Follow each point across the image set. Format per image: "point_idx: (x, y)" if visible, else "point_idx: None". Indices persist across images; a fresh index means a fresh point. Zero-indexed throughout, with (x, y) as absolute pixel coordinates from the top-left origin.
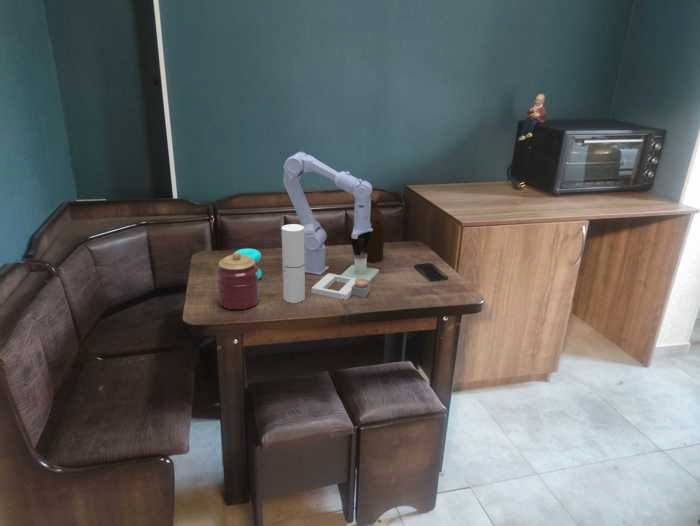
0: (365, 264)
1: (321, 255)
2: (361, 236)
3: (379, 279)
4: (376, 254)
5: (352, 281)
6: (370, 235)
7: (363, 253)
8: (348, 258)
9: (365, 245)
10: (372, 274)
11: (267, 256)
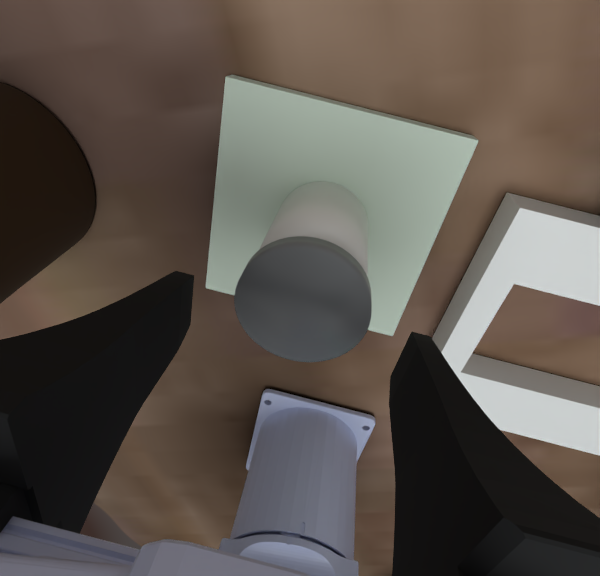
0: (338, 218)
1: (332, 511)
2: (115, 438)
3: (392, 47)
4: (15, 139)
5: (560, 269)
6: (83, 366)
7: (273, 286)
8: (90, 307)
9: (177, 312)
10: (349, 125)
11: None
